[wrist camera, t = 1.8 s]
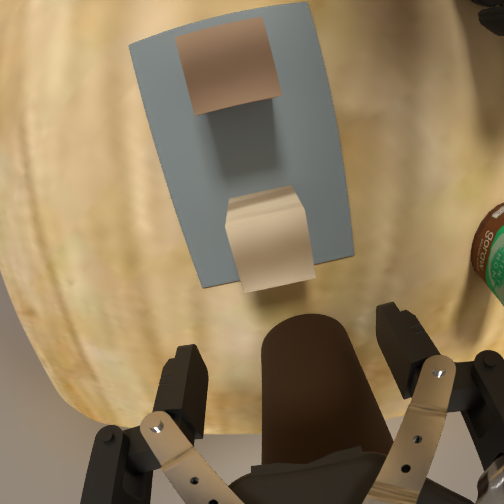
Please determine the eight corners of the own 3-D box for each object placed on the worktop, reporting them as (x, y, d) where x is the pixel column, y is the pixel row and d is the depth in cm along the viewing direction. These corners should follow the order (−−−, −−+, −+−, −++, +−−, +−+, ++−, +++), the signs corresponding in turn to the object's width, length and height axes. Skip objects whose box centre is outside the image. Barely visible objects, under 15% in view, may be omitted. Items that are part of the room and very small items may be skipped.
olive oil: (299, 289, 29) (364, 582, 7) (371, 333, 32) (452, 547, 10) (235, 357, 33) (234, 593, 10) (308, 388, 36) (340, 582, 13)
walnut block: (190, 53, 19) (174, 37, 14) (257, 37, 19) (262, 16, 14) (206, 113, 22) (194, 115, 16) (272, 98, 21) (282, 95, 16)
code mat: (129, 45, 19) (128, 45, 19) (307, 2, 18) (307, 1, 18) (202, 286, 29) (202, 288, 28) (353, 254, 28) (354, 255, 27)
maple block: (229, 198, 25) (224, 227, 19) (291, 184, 24) (304, 209, 19) (244, 253, 27) (244, 293, 22) (301, 241, 27) (315, 278, 21)
